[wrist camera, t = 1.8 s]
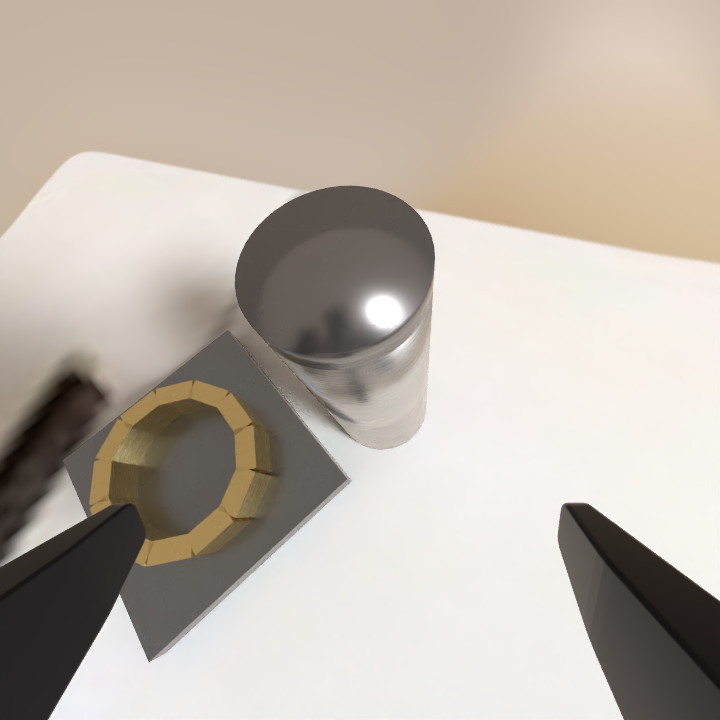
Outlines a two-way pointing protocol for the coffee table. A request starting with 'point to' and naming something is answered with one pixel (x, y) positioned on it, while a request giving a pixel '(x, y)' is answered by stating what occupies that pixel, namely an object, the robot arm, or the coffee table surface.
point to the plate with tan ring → (204, 485)
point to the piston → (347, 305)
